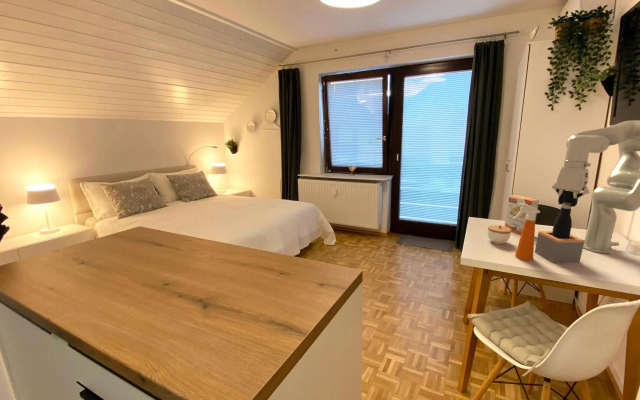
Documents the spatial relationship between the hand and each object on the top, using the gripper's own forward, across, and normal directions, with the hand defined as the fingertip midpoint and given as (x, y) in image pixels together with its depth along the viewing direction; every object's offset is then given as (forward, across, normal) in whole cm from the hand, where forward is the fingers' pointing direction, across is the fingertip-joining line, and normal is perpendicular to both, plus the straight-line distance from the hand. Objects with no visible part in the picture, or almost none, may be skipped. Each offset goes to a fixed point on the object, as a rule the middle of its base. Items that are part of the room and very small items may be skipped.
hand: (566, 204), depth 134 cm
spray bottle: (+26, +8, +15) cm, 31 cm away
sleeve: (+26, 0, 0) cm, 26 cm away
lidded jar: (+26, +25, +6) cm, 37 cm away
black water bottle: (+24, 0, 0) cm, 24 cm away
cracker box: (+26, +30, -20) cm, 44 cm away
